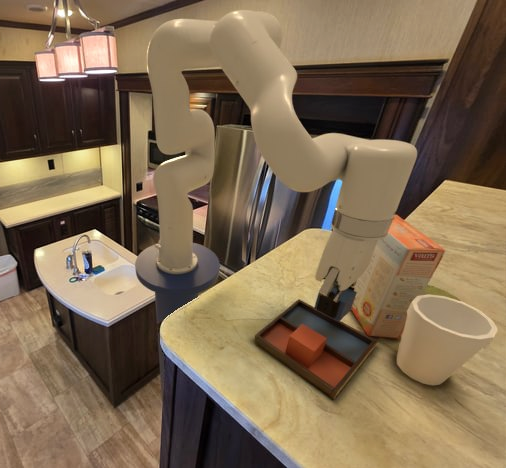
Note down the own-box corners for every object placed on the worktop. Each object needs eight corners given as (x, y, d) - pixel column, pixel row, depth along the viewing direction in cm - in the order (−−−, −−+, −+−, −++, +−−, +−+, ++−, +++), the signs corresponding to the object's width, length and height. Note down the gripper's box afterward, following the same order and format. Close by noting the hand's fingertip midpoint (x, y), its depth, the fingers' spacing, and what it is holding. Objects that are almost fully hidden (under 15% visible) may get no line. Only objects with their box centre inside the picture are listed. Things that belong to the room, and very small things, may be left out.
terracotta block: (285, 352, 55) (289, 335, 53) (297, 340, 57) (302, 323, 55) (308, 368, 52) (314, 351, 50) (321, 354, 54) (327, 338, 52)
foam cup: (399, 338, 56) (425, 287, 50) (464, 373, 50) (504, 318, 43) (376, 363, 52) (402, 311, 46) (444, 405, 45) (485, 350, 39)
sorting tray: (253, 341, 58) (254, 334, 57) (297, 305, 66) (298, 298, 65) (333, 399, 47) (336, 392, 46) (374, 348, 55) (377, 340, 54)
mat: (386, 303, 65) (389, 297, 64) (402, 282, 70) (405, 276, 69) (455, 333, 57) (460, 326, 56) (468, 306, 62) (472, 299, 61)
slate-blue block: (313, 308, 56) (319, 290, 53) (325, 298, 58) (330, 280, 56) (339, 322, 52) (345, 303, 50) (350, 310, 55) (357, 292, 52)
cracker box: (401, 340, 56) (449, 249, 46) (366, 337, 57) (406, 248, 47) (366, 292, 68) (398, 212, 58) (338, 291, 69) (365, 212, 59)
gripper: (357, 200, 53) (332, 279, 62) (308, 230, 45) (288, 317, 53) (408, 212, 47) (374, 297, 56) (364, 249, 39) (332, 342, 48)
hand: (332, 306), depth 55 cm, fingers closed on slate-blue block, 4 cm apart
